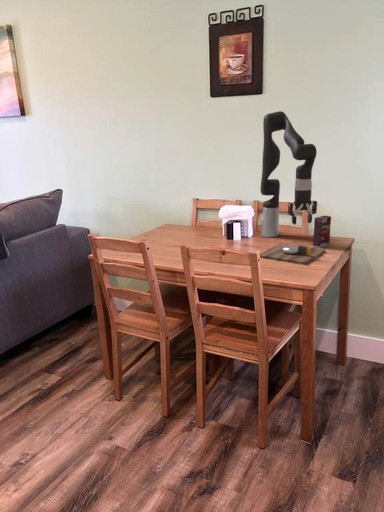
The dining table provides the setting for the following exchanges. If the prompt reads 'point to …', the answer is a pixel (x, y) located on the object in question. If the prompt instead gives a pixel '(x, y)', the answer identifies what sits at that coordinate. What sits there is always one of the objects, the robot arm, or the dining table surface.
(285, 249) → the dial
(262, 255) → the board
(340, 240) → the dining table surface
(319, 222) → the supplement box
